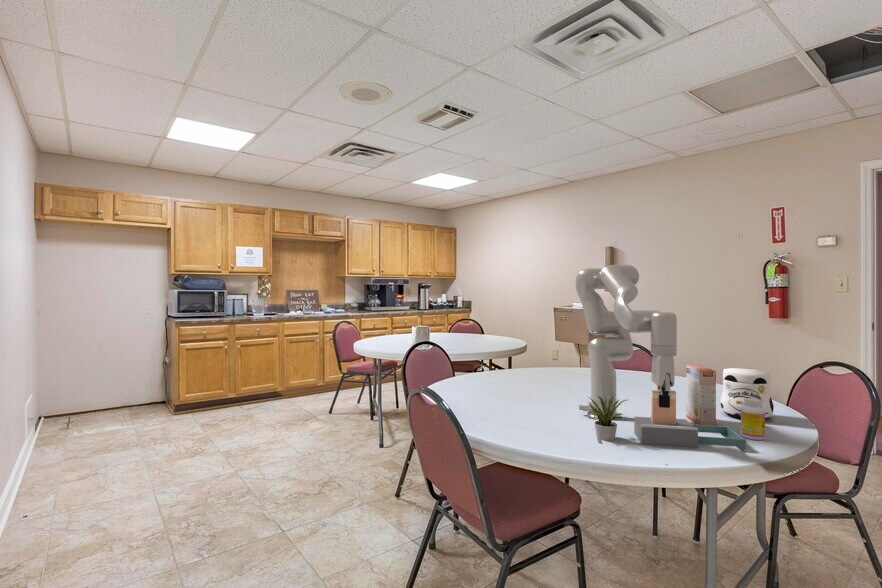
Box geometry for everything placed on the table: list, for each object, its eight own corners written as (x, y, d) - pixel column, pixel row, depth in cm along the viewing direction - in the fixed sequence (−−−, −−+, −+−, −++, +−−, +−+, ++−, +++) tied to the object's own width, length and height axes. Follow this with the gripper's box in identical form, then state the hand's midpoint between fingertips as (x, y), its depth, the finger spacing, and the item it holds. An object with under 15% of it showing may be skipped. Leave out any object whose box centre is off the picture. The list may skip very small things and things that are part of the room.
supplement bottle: (766, 441, 145) (765, 402, 145) (741, 438, 148) (741, 400, 148) (764, 436, 151) (763, 398, 151) (740, 433, 154) (740, 396, 154)
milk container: (737, 422, 166) (737, 375, 166) (711, 410, 184) (711, 367, 184) (784, 423, 166) (784, 375, 166) (754, 410, 183) (754, 367, 183)
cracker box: (717, 428, 160) (716, 370, 160) (699, 427, 161) (698, 370, 161) (702, 417, 174) (702, 364, 174) (685, 416, 175) (685, 364, 175)
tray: (696, 447, 140) (696, 436, 140) (682, 433, 154) (682, 423, 154) (746, 450, 137) (745, 439, 137) (727, 436, 150) (727, 426, 150)
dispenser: (641, 449, 139) (641, 425, 139) (634, 437, 151) (634, 414, 151) (698, 452, 135) (697, 428, 135) (685, 440, 147) (685, 417, 147)
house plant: (628, 436, 151) (628, 389, 151) (636, 450, 138) (636, 398, 138) (585, 434, 154) (584, 387, 154) (589, 447, 141) (588, 396, 141)
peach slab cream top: (652, 427, 143) (652, 390, 143) (651, 425, 145) (651, 389, 145) (676, 429, 142) (676, 391, 142) (674, 427, 143) (674, 390, 143)
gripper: (645, 346, 152) (645, 399, 152) (657, 353, 136) (656, 412, 137) (669, 347, 150) (669, 401, 150) (683, 354, 135) (683, 413, 135)
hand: (663, 406), depth 143 cm, fingers closed on peach slab cream top, 1 cm apart
